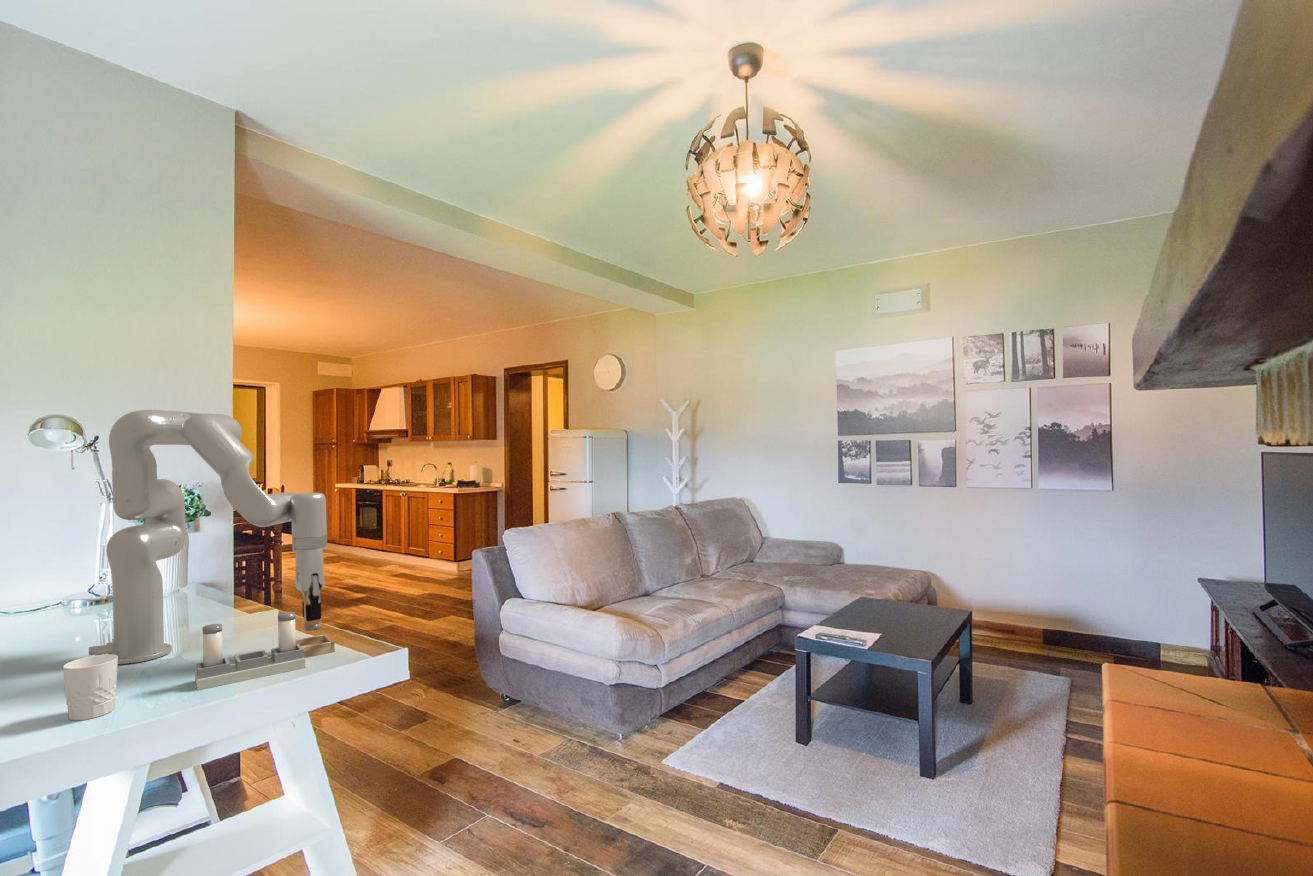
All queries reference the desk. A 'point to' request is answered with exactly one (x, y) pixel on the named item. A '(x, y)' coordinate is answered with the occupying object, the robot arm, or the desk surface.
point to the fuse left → (212, 645)
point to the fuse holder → (249, 667)
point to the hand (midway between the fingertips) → (312, 617)
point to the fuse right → (286, 632)
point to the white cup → (90, 686)
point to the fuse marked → (309, 624)
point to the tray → (316, 645)
